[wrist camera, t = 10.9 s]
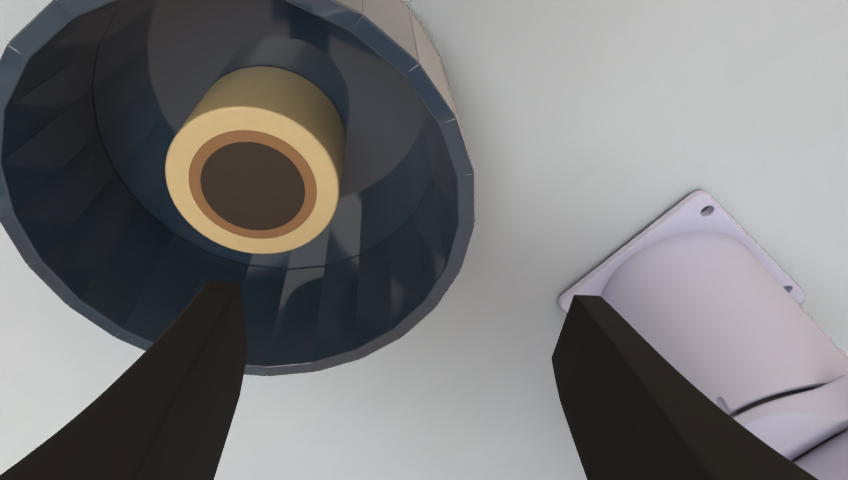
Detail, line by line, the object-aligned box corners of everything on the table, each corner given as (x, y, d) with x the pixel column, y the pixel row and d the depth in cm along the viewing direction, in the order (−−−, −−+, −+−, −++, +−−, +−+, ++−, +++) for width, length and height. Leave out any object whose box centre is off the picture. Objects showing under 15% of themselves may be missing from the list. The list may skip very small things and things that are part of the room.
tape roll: (374, 128, 20) (373, 178, 17) (293, 221, 22) (279, 280, 19) (246, 32, 18) (219, 69, 15) (170, 146, 20) (132, 199, 17)
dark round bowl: (524, 109, 20) (569, 191, 16) (320, 313, 26) (306, 422, 21) (202, -184, 15) (115, -198, 10) (26, 152, 20) (-87, 249, 15)
